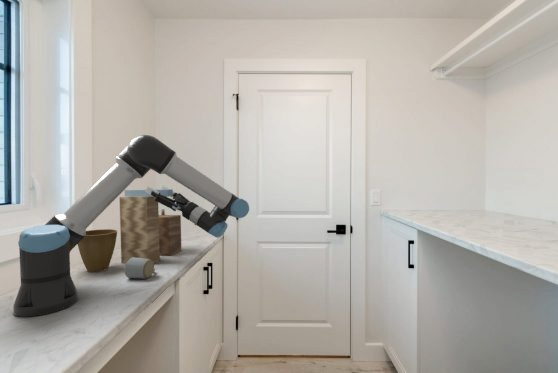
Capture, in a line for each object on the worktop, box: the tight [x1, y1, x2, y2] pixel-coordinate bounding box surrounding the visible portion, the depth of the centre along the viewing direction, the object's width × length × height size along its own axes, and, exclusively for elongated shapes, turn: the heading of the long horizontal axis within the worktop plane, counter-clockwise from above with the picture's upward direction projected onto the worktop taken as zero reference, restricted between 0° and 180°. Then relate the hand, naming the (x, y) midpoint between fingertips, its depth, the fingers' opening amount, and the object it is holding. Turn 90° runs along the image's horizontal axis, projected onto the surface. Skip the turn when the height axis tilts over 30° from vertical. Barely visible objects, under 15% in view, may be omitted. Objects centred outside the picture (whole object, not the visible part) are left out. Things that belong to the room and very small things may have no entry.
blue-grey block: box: [123, 188, 174, 198], centre depth 134 cm, size 22×4×3 cm, turn 77°
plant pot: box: [77, 228, 118, 273], centre depth 124 cm, size 15×15×16 cm
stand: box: [119, 196, 161, 265], centre depth 135 cm, size 14×8×30 cm, turn 77°
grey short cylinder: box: [124, 257, 156, 280], centre depth 114 cm, size 11×8×8 cm
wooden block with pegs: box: [159, 208, 182, 257], centre depth 151 cm, size 16×11×22 cm, turn 77°
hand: (154, 188), depth 133 cm, fingers open, 10 cm apart
